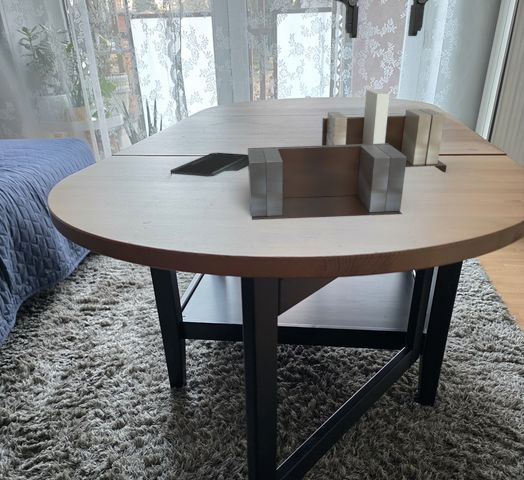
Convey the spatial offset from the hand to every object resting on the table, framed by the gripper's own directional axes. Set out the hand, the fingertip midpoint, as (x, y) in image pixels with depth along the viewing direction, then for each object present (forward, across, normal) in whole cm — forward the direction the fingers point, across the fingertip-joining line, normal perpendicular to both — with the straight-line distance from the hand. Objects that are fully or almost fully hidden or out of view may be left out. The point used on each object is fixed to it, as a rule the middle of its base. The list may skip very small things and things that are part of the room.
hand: (382, 37), depth 72 cm
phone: (+18, -26, +2) cm, 31 cm away
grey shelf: (+18, -12, -23) cm, 31 cm away
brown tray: (+18, +1, 0) cm, 18 cm away
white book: (+17, 0, 0) cm, 17 cm away
